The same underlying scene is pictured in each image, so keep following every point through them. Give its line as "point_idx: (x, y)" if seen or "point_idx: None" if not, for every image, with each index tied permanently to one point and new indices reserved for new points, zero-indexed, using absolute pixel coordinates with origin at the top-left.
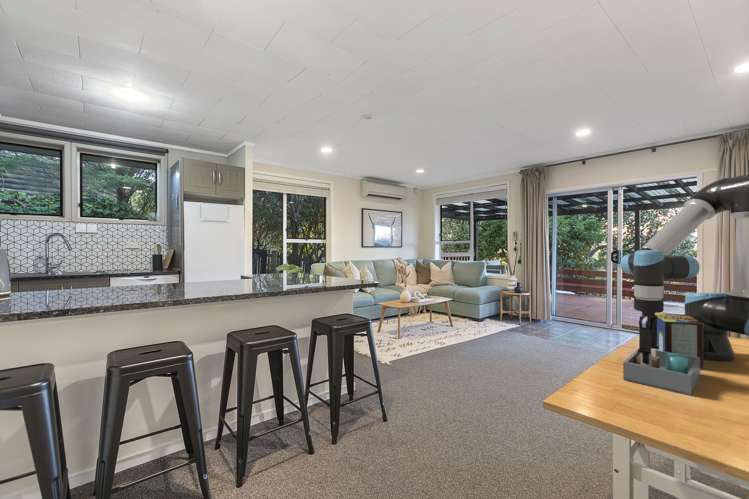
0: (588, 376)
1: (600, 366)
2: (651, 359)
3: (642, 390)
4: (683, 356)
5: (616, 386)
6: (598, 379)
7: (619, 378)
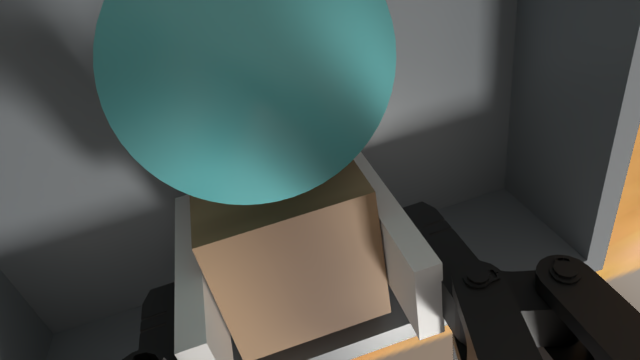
0: None
1: (365, 354)
2: (409, 221)
3: None
4: (176, 4)
5: (635, 151)
6: None
7: None
